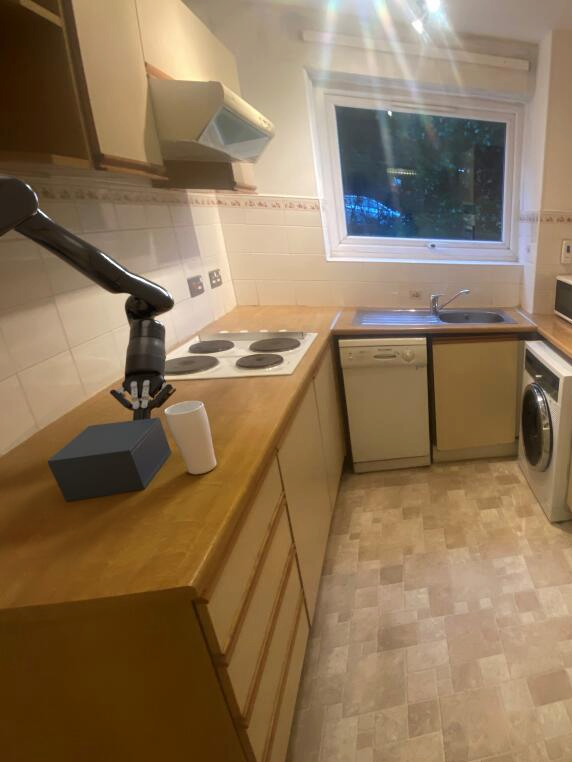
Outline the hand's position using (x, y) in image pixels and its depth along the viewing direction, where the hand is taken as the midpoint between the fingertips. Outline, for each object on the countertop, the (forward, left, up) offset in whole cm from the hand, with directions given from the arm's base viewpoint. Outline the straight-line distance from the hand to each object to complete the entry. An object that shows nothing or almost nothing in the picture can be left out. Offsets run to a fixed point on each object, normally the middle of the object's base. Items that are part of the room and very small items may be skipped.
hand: (141, 425), depth 102 cm
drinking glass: (+14, -17, -6) cm, 23 cm away
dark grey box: (-1, -13, -5) cm, 14 cm away
